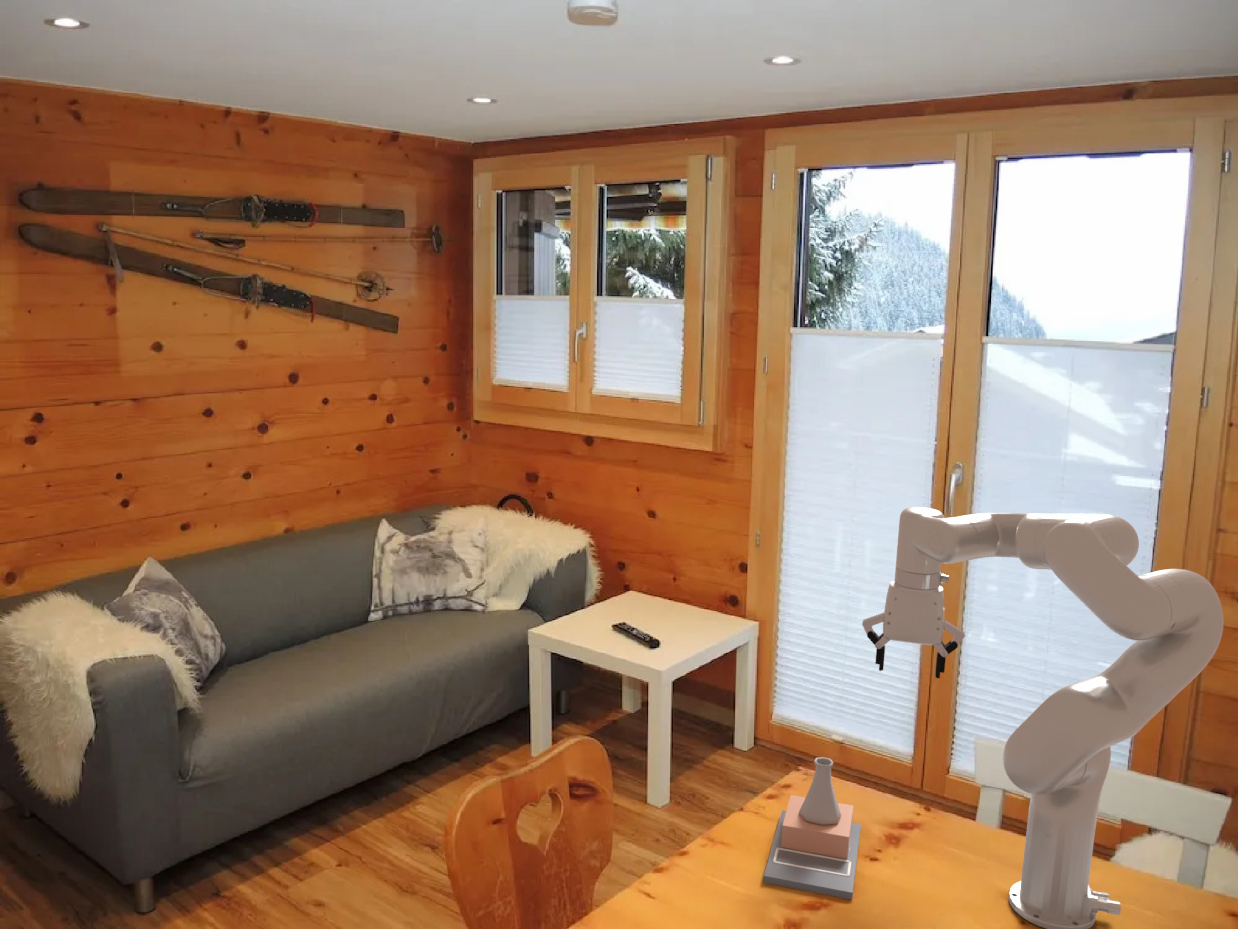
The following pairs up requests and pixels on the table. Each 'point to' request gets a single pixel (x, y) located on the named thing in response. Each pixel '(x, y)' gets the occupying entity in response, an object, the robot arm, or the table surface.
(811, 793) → the flask
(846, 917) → the table surface
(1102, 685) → the robot arm
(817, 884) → the build base
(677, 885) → the table surface
